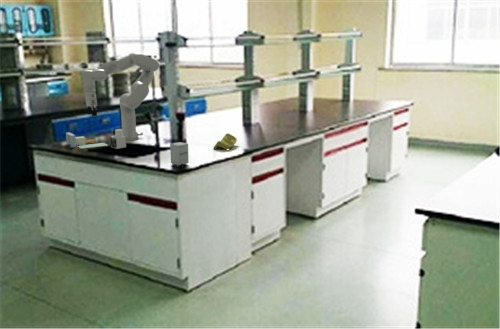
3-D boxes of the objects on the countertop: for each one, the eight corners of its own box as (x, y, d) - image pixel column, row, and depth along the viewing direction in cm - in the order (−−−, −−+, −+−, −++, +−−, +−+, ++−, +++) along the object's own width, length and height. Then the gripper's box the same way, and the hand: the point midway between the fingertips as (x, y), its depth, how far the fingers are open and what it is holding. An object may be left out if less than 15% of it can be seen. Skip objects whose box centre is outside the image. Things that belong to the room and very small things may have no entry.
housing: (70, 143, 362) (69, 132, 360) (75, 147, 352) (74, 135, 350) (66, 144, 360) (65, 132, 358) (72, 147, 351) (71, 135, 349)
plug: (93, 142, 366) (93, 135, 365) (95, 143, 363) (95, 136, 362) (73, 144, 359) (72, 137, 358) (75, 146, 355) (74, 138, 354)
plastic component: (230, 147, 341) (216, 139, 342) (226, 156, 344) (212, 149, 345) (238, 138, 360) (225, 131, 360) (234, 148, 362) (221, 141, 363)
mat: (103, 143, 363) (103, 142, 363) (108, 145, 356) (108, 145, 356) (76, 146, 354) (76, 145, 354) (80, 148, 346) (80, 148, 346)
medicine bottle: (110, 147, 351) (109, 129, 348) (120, 145, 356) (119, 127, 353) (116, 149, 346) (115, 130, 343) (126, 147, 351) (125, 129, 348)
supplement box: (179, 167, 300) (178, 145, 297) (170, 165, 305) (169, 143, 302) (189, 165, 305) (188, 143, 302) (180, 163, 310) (179, 141, 307)
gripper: (99, 89, 350) (102, 116, 355) (91, 87, 364) (93, 112, 369) (88, 90, 346) (90, 117, 351) (80, 88, 360) (82, 113, 365)
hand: (92, 114), depth 360 cm, fingers open, 9 cm apart
